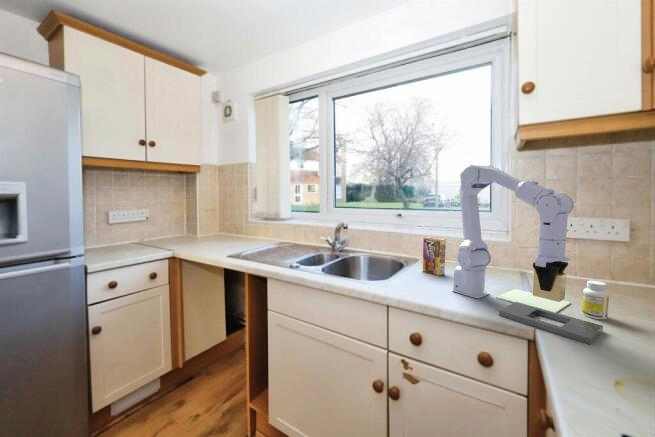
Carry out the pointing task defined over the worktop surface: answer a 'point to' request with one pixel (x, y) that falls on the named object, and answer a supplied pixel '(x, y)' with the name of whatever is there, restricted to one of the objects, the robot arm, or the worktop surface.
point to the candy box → (434, 255)
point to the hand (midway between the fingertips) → (548, 288)
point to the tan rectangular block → (557, 288)
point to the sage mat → (533, 300)
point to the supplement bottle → (595, 300)
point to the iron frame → (571, 329)
